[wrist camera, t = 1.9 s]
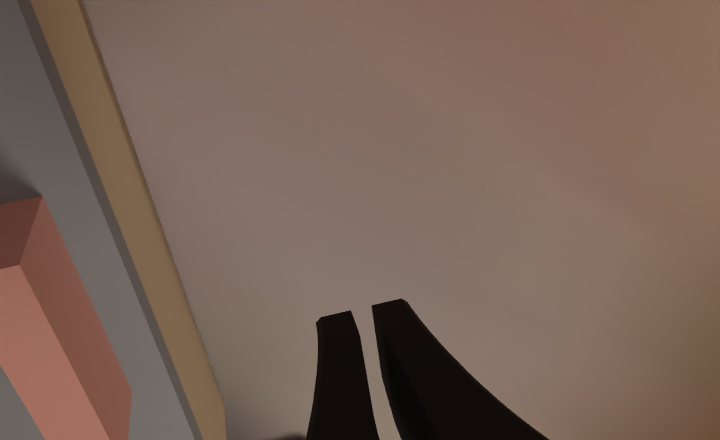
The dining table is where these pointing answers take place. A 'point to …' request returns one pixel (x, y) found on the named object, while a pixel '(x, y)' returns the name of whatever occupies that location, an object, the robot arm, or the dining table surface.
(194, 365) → the mailer box
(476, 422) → the robot arm
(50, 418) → the mailer lid
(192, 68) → the dining table surface
